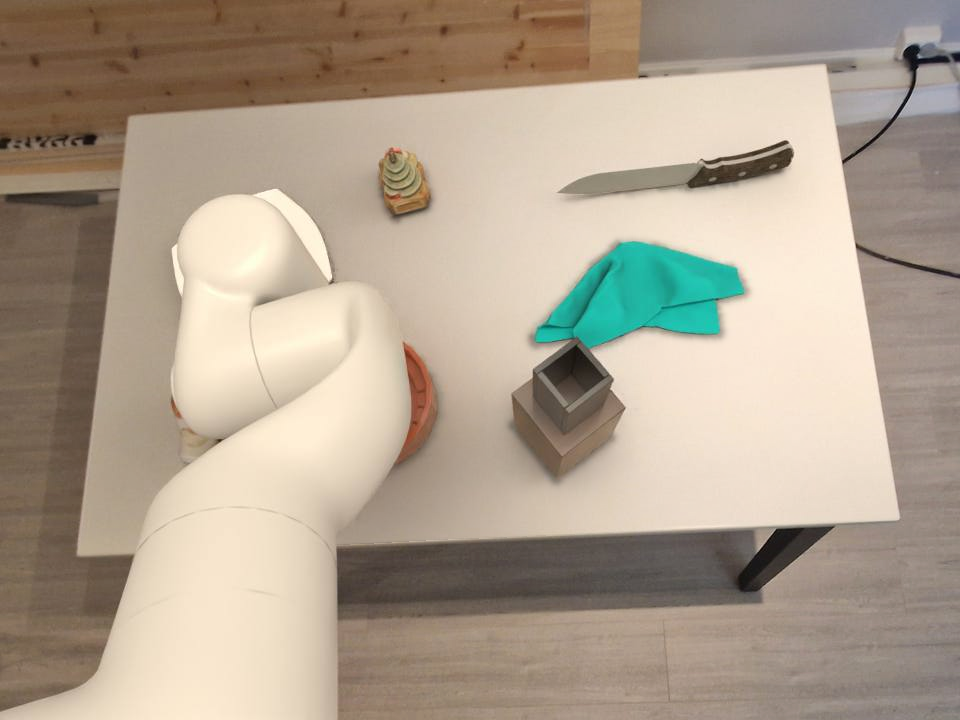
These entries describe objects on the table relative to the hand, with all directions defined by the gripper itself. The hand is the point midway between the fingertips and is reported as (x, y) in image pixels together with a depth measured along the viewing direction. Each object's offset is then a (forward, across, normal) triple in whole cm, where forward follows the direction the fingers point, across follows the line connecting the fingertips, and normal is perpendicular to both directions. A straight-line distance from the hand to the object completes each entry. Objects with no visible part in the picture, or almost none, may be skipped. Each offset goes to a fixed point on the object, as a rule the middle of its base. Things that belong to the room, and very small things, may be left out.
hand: (346, 375), depth 72 cm
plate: (+14, -25, -2) cm, 29 cm away
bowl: (+13, 0, 0) cm, 13 cm away
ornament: (+14, -22, +20) cm, 33 cm away
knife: (+14, -1, +48) cm, 49 cm away
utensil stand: (+13, +16, +16) cm, 26 cm away
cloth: (+14, +8, +34) cm, 38 cm away
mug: (+14, -10, -17) cm, 24 cm away
